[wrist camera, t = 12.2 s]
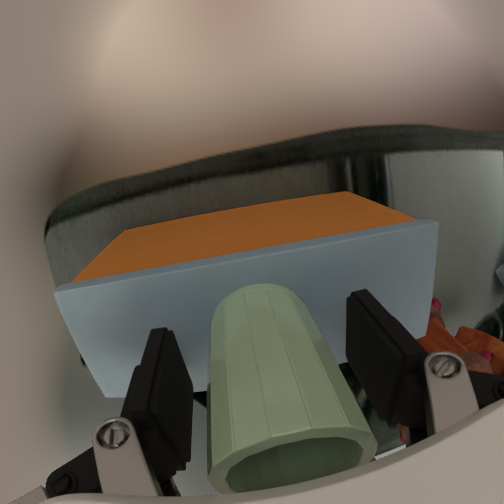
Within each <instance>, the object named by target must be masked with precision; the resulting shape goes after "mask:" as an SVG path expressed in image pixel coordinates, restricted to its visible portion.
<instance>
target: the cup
mask: <svg viewBox="0 0 504 504" xmlns="http://www.w3.org/2000/svg"><path fill="white" fill-rule="evenodd" d="M377 446H378V440H377V438H376V436H375V434H374V432H373V430H372V428H371V426H370V424H369V422H368V421H367V419H366V417H365V415H364V413H363V411H362V409H361V407H360V405H359V403H358V401H357V399H356V397H355V395H354V393H353V391H352V389H351V387H350V386H349V384H348V382H347V380H346V378H345V376H344V374H343V372H342V370H341V368H340V366H339V365H338V363H337V361H336V359H335V357H334V355H333V353H332V351H331V349H330V348H329V346H328V344H327V342H326V340H325V338H324V336H323V334H322V333H321V331H320V329H319V327H318V325H317V323H316V321H315V320H314V318H313V316H312V314H311V313H310V311H309V309H308V307H307V305H306V304H305V302H304V301H303V300H302V298H301V297H300V296H299V295H298V294H296V293H295V292H293V291H292V290H290V289H288V288H286V287H283V286H280V285H276V284H268V283H260V284H252V285H248V286H245V287H242V288H240V289H238V290H236V291H234V292H232V293H231V294H229V295H228V296H226V297H225V298H224V299H223V300H222V301H221V302H220V303H219V304H218V305H217V307H216V309H215V310H214V312H213V314H212V316H211V320H210V325H209V335H208V362H207V467H208V481H209V482H210V484H211V485H212V486H213V488H214V489H215V491H216V492H218V493H220V494H222V495H224V494H234V493H243V492H250V491H258V490H264V489H270V488H276V487H281V486H287V485H292V484H296V483H301V482H305V481H309V480H313V479H317V478H321V477H325V476H329V475H332V474H336V473H339V472H342V471H346V470H349V469H352V468H355V467H358V466H361V465H364V464H367V463H369V462H370V461H371V460H372V459H373V458H374V455H375V452H376V449H377Z"/></svg>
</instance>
